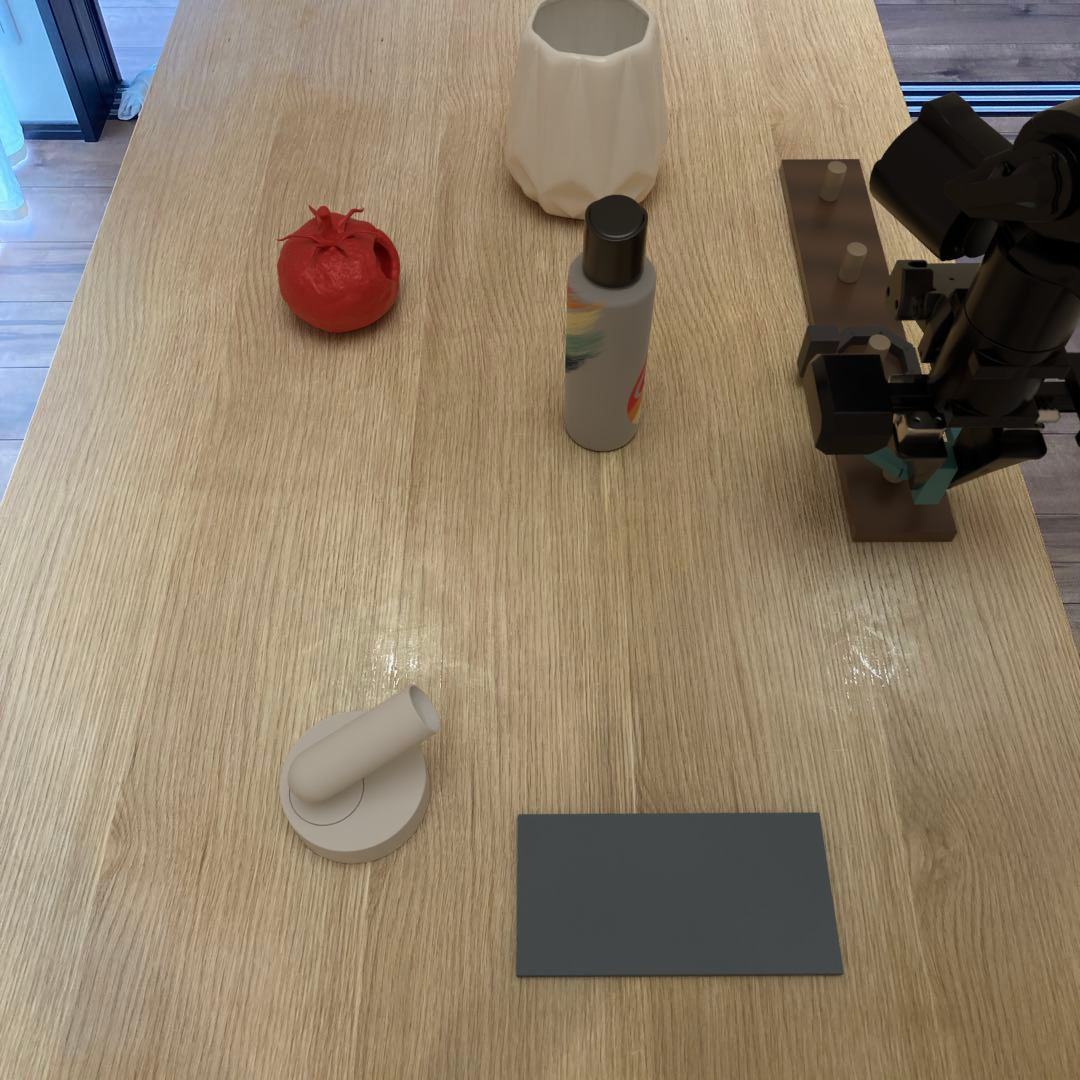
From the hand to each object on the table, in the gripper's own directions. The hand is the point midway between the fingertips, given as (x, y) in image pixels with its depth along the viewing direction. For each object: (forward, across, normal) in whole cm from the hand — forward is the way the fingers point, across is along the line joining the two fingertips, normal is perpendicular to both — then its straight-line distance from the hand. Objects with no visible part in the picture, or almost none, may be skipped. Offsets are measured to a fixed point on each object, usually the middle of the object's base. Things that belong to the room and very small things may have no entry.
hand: (926, 484), depth 68 cm
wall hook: (+6, +36, +18) cm, 41 cm away
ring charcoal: (+5, 0, -14) cm, 15 cm away
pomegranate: (+6, +41, -23) cm, 48 cm away
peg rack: (+6, 0, -19) cm, 20 cm away
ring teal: (+1, 0, -4) cm, 4 cm away
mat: (+6, +18, +24) cm, 31 cm away
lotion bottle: (+6, +21, -10) cm, 24 cm away
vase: (+6, +21, -38) cm, 44 cm away
